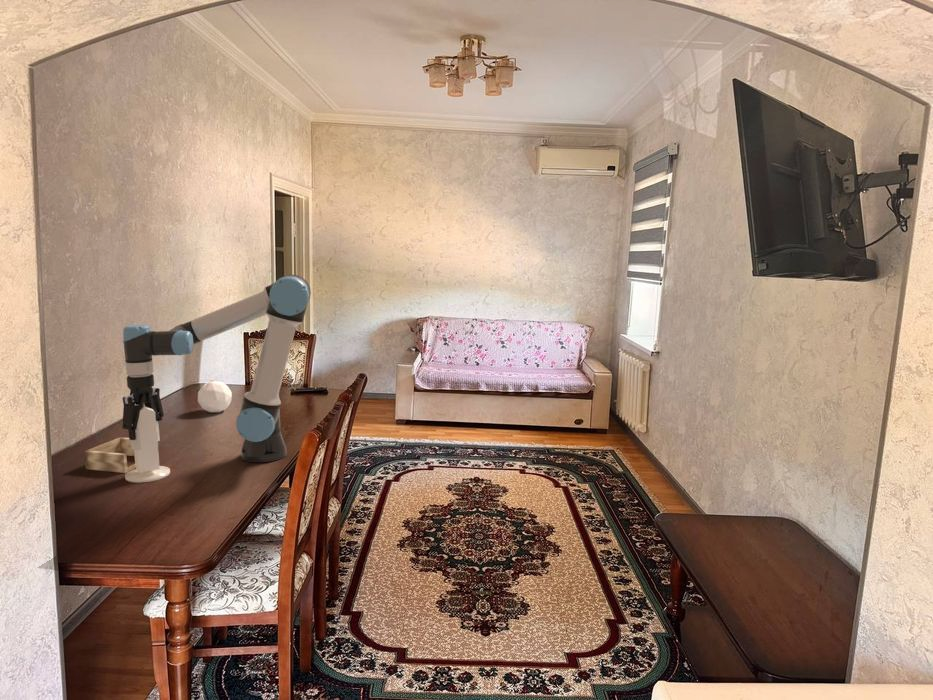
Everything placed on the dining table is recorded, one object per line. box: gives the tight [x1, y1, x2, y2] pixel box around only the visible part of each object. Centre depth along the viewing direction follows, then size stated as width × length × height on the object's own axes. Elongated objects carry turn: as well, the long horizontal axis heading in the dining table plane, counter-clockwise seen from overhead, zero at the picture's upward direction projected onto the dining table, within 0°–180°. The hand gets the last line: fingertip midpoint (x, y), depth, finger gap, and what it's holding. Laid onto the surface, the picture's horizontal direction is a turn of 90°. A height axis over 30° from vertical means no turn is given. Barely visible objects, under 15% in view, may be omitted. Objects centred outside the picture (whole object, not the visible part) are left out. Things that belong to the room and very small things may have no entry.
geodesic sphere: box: [197, 379, 233, 413], centre depth 283 cm, size 15×14×14 cm
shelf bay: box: [83, 436, 159, 474], centre depth 219 cm, size 15×16×6 cm
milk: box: [132, 403, 160, 473], centre depth 206 cm, size 6×6×22 cm
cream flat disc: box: [124, 465, 171, 484], centre depth 208 cm, size 13×13×1 cm
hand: (145, 444), depth 207 cm, fingers closed on milk, 8 cm apart
